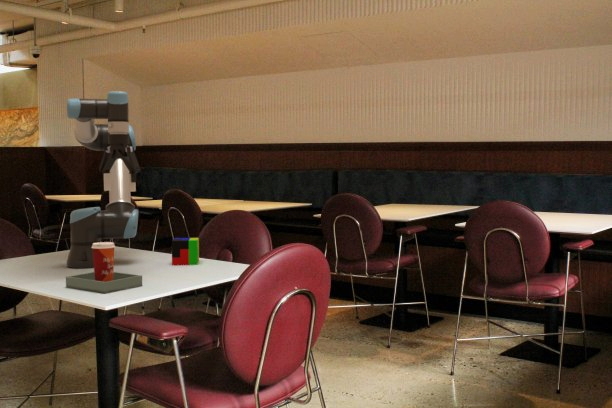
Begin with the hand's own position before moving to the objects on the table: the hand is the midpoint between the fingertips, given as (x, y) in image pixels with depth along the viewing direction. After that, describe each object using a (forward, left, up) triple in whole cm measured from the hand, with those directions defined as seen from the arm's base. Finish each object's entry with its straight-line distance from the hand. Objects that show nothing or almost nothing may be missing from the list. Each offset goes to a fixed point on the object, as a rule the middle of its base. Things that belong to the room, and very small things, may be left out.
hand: (119, 191), depth 254 cm
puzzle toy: (+4, +30, -31) cm, 43 cm away
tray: (+17, -22, -31) cm, 41 cm away
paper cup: (+17, -22, -30) cm, 41 cm away
